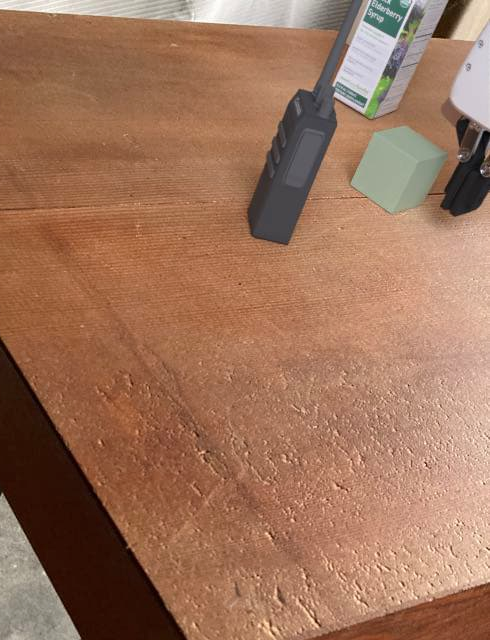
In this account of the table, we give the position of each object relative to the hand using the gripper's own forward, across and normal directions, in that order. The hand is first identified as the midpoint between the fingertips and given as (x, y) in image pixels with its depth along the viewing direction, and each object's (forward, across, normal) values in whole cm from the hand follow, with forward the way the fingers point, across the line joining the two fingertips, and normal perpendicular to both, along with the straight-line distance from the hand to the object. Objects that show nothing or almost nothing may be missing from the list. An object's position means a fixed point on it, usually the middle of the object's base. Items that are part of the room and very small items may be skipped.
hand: (455, 209), depth 84 cm
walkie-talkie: (+3, +7, +17) cm, 18 cm away
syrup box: (+3, +21, -14) cm, 25 cm away
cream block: (+2, +30, -28) cm, 41 cm away
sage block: (+3, +7, 0) cm, 7 cm away
